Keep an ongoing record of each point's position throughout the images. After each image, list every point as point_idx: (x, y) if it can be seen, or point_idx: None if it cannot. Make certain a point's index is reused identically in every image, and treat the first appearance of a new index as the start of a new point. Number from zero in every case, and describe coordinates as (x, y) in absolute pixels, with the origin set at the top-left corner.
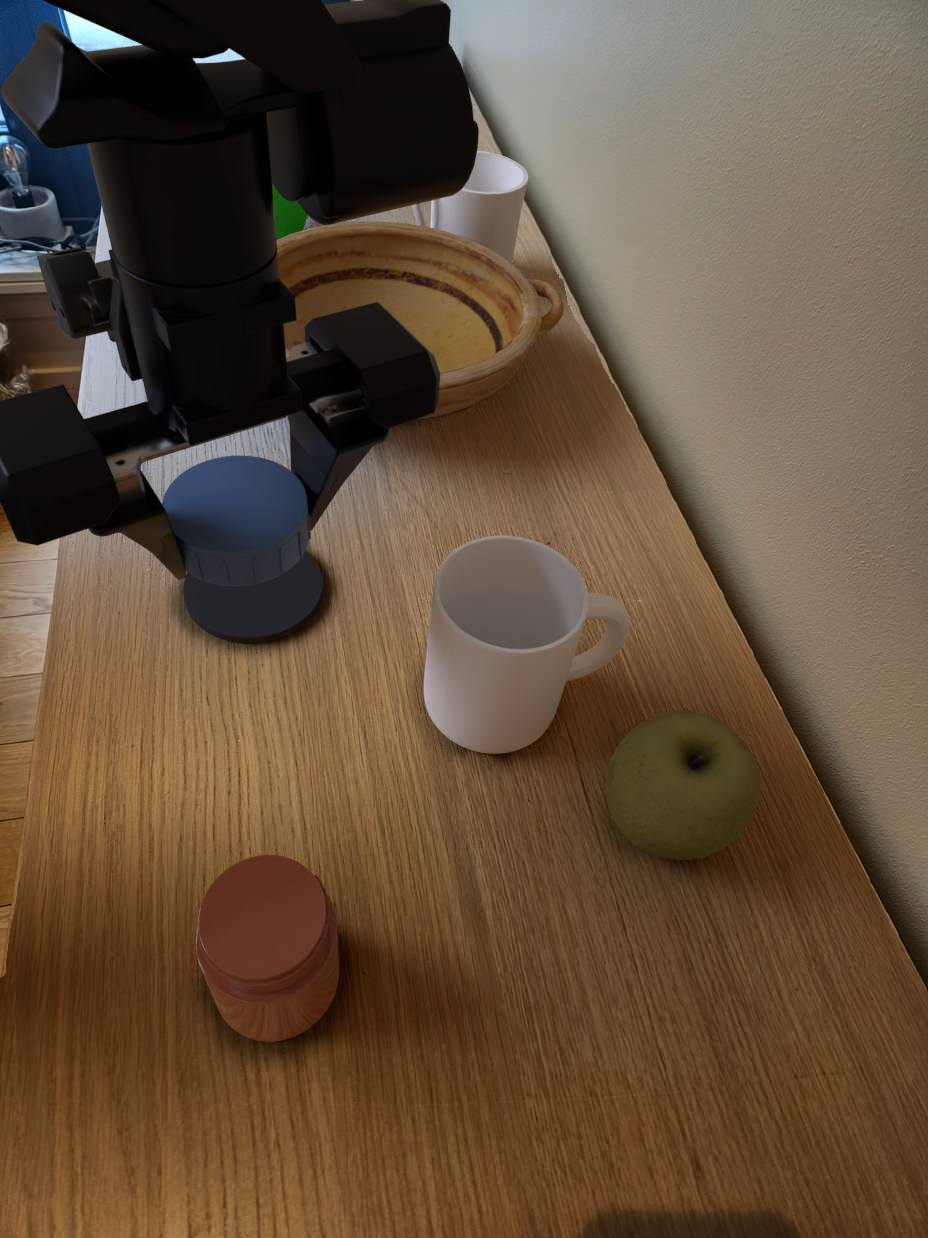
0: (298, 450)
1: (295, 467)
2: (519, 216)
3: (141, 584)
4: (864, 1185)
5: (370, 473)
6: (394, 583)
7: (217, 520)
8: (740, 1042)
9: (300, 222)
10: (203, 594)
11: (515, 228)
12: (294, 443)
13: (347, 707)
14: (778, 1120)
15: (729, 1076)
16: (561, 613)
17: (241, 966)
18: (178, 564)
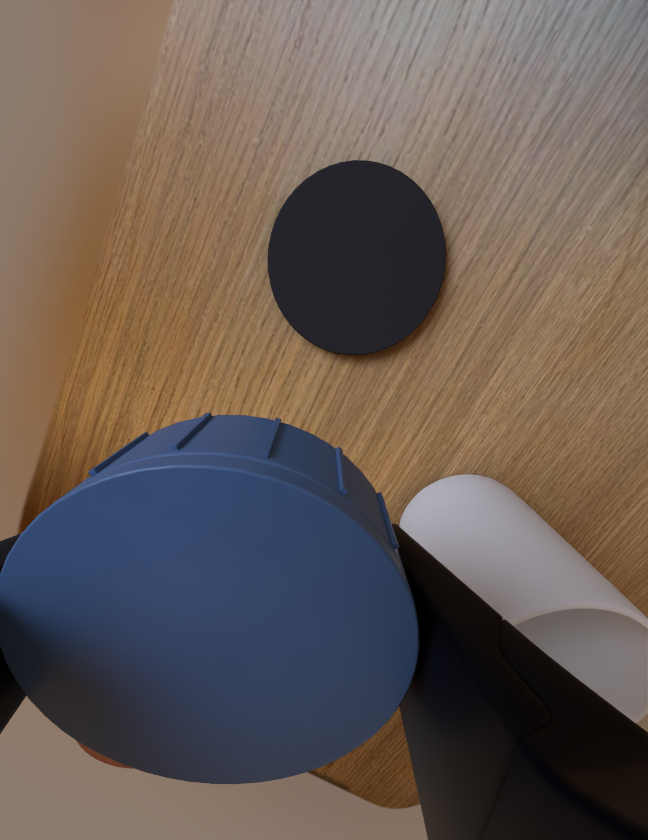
0: (472, 756)
1: (434, 654)
2: None
3: (237, 164)
4: (389, 798)
5: (633, 140)
6: (495, 355)
7: (136, 686)
8: (396, 747)
9: None
10: (294, 243)
11: None
12: (486, 736)
13: None
14: (380, 771)
15: (377, 752)
16: (583, 623)
17: (97, 753)
18: None
